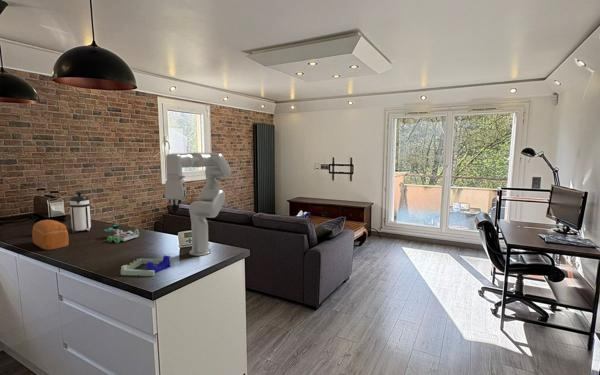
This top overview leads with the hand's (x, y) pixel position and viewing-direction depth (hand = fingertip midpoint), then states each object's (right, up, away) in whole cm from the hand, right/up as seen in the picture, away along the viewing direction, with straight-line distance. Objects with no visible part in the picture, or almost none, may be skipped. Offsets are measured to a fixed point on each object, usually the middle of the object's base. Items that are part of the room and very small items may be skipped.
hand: (175, 212), depth 169 cm
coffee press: (-102, -20, +76) cm, 129 cm away
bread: (-97, -25, +39) cm, 107 cm away
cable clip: (-8, -30, -4) cm, 31 cm away
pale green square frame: (-14, -30, -3) cm, 33 cm away
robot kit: (-61, -23, +55) cm, 86 cm away
